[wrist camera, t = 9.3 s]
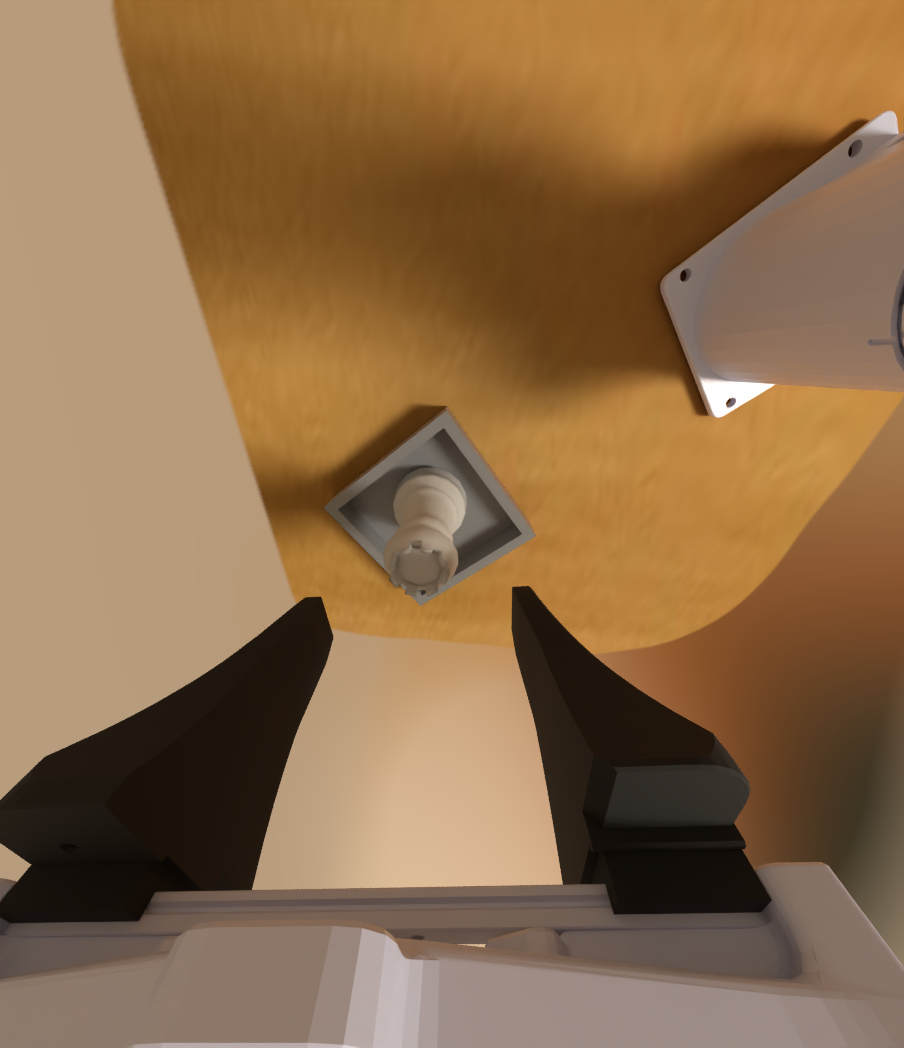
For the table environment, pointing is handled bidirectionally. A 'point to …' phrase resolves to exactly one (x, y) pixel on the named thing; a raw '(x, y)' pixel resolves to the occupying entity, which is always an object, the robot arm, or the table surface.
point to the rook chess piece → (425, 530)
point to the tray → (447, 447)
